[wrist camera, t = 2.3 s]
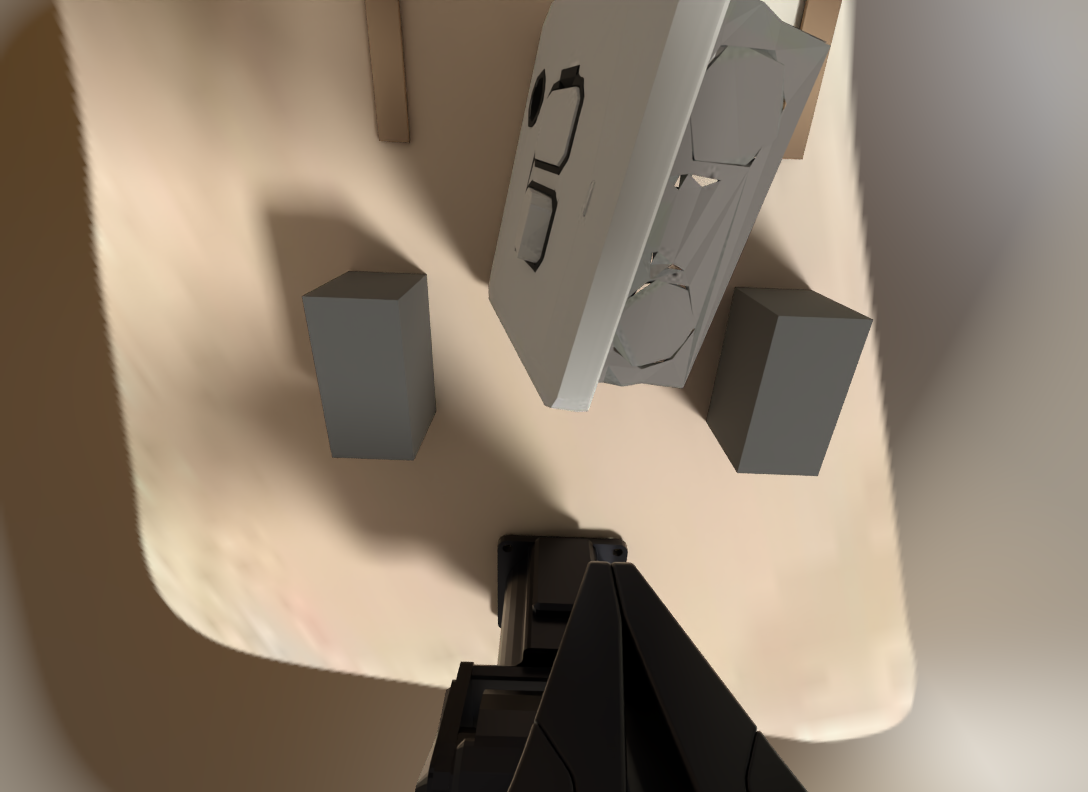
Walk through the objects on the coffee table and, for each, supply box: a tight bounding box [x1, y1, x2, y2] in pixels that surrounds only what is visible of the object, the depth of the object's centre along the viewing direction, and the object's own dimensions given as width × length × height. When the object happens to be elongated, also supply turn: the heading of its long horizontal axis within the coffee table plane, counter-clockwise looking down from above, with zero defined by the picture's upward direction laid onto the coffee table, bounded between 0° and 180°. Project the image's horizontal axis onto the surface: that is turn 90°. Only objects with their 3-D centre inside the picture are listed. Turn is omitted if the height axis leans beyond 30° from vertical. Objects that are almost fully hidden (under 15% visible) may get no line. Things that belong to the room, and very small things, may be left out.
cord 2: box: [302, 271, 436, 460], centre depth 18 cm, size 6×3×4 cm, turn 178°
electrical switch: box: [489, 0, 831, 412], centre depth 13 cm, size 9×5×9 cm, turn 165°
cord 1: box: [706, 287, 873, 476], centre depth 18 cm, size 6×3×4 cm, turn 178°
